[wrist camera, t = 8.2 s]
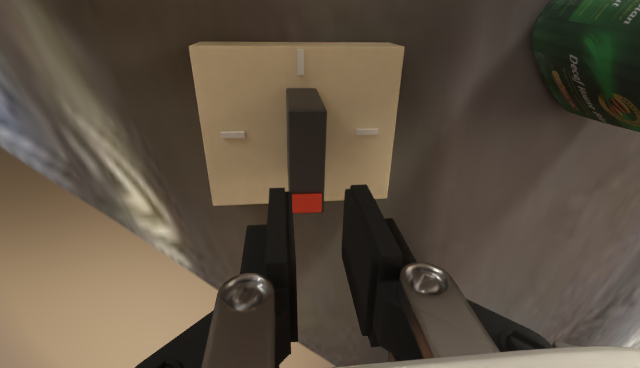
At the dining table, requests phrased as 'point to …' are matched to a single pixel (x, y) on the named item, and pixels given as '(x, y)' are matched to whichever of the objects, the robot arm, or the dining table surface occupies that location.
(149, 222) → the dining table surface
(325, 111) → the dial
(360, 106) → the panel
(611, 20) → the coffee jar
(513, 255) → the dining table surface
